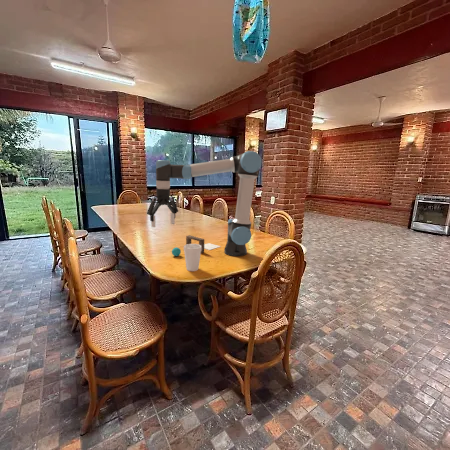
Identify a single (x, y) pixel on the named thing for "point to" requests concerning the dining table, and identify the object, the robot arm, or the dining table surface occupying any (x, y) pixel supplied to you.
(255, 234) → the dining table surface
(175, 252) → the ball
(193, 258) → the foam cup
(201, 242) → the bridge
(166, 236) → the dining table surface
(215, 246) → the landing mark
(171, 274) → the dining table surface
